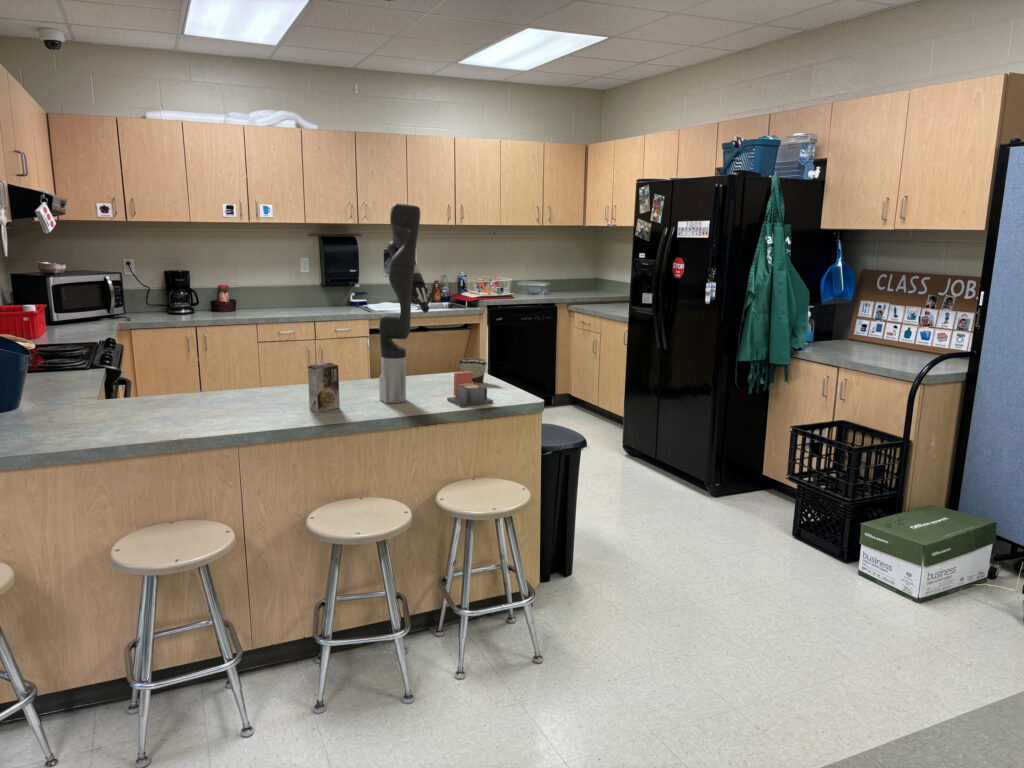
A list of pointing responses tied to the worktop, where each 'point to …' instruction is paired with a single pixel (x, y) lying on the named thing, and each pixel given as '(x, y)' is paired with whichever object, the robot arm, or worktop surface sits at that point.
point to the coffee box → (323, 387)
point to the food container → (474, 368)
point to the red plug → (463, 381)
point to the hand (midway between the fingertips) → (426, 311)
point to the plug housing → (470, 396)
